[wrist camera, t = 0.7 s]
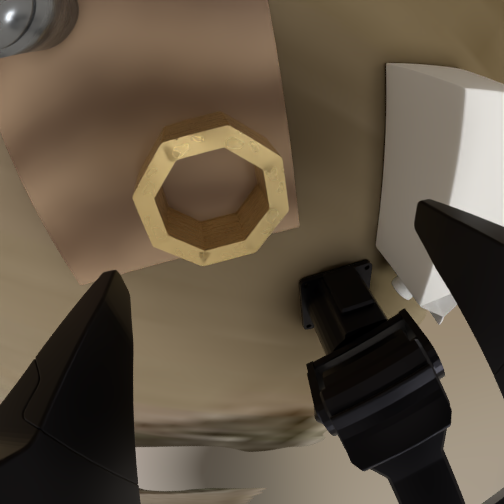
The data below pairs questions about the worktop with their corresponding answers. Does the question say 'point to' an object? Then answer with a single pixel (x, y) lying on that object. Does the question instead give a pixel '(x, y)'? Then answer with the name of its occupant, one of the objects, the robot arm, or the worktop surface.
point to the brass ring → (220, 228)
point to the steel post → (35, 24)
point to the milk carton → (437, 166)
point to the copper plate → (140, 120)
